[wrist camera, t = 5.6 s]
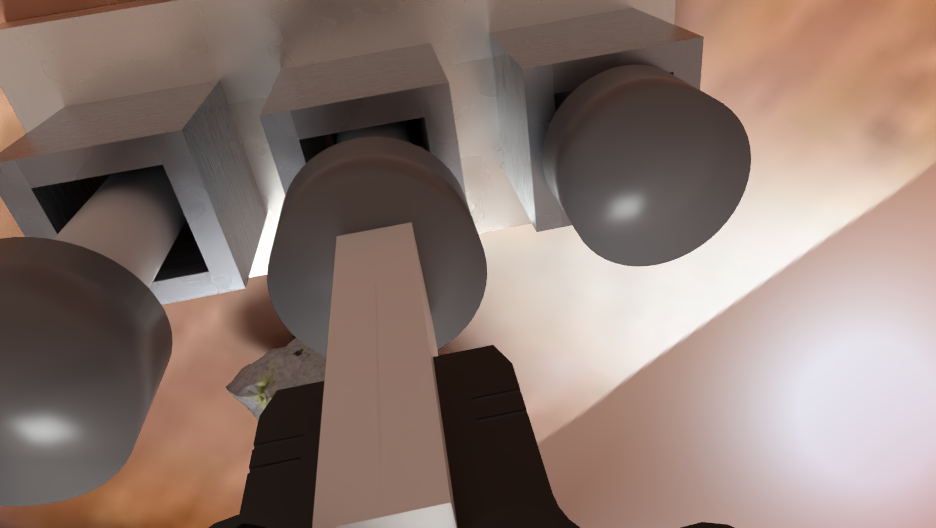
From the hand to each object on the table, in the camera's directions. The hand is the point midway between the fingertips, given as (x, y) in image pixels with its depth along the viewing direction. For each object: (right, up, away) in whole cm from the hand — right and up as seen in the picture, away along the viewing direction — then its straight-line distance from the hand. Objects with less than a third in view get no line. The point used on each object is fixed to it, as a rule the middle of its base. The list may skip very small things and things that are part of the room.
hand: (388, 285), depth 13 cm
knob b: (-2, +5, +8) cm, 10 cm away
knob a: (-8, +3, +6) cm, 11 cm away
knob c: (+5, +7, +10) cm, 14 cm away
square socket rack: (-2, +6, +10) cm, 12 cm away
